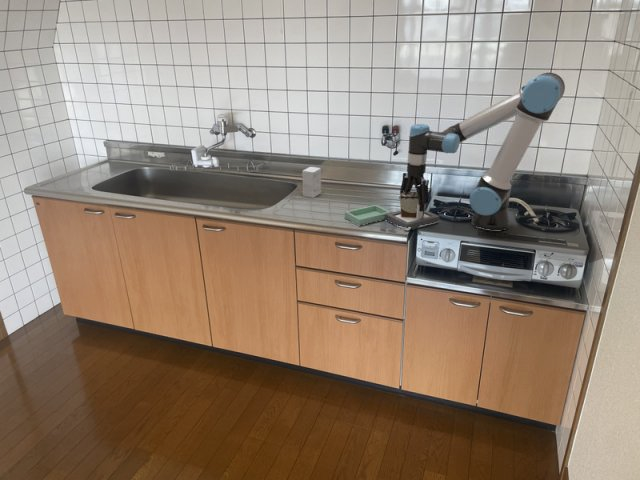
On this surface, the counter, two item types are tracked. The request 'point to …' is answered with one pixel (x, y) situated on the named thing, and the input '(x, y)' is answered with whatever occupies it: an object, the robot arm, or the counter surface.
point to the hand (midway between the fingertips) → (412, 214)
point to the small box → (311, 182)
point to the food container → (409, 204)
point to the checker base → (413, 224)
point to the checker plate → (410, 218)
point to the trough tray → (366, 214)
